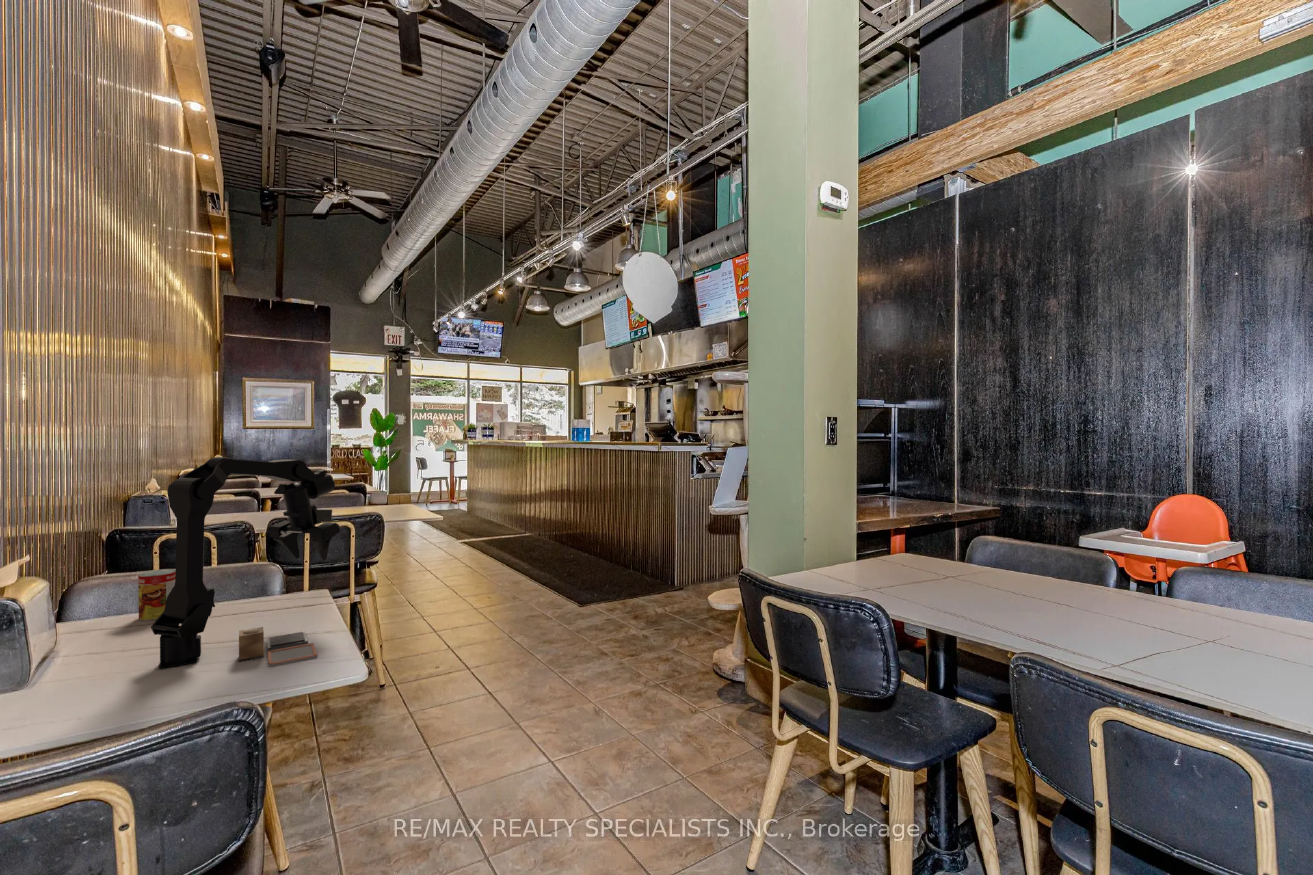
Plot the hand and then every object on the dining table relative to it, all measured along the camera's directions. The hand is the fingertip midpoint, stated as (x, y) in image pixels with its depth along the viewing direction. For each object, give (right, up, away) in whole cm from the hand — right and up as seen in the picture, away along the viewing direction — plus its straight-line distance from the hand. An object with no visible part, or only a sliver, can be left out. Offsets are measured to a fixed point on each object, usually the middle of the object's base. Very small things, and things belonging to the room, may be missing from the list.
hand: (310, 559), depth 163 cm
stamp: (+4, -16, -30) cm, 34 cm away
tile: (+13, -16, -29) cm, 35 cm away
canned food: (-42, -16, 0) cm, 45 cm away
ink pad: (+7, -16, -21) cm, 27 cm away
